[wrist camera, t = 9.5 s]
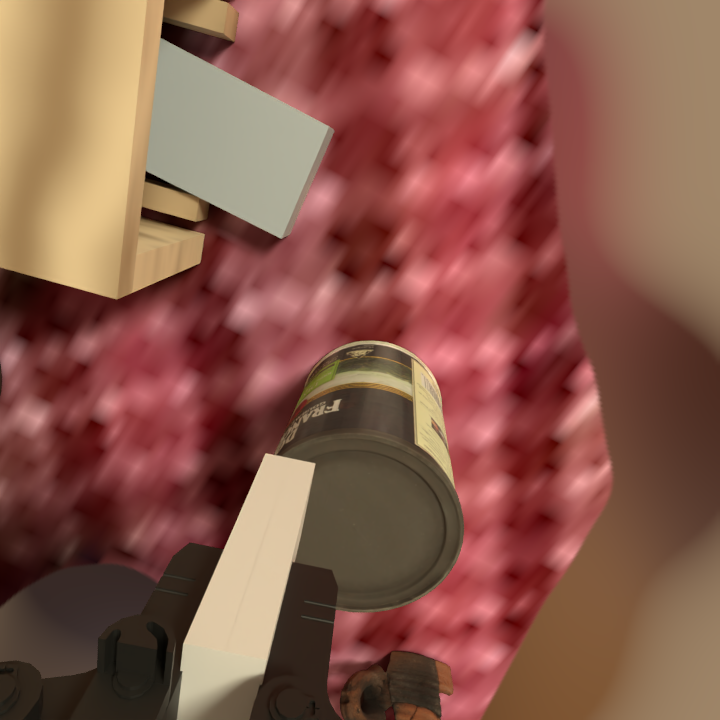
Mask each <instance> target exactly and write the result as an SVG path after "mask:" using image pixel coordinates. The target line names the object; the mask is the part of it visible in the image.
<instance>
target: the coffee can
mask: <svg viewBox="0 0 720 720" xmlns="http://www.w3.org/2000/svg"><path fill="white" fill-rule="evenodd" d="M274 455H277V456H282V457H287V458H292V459H296V460H301V461H306V462H311V463H315V468H314V473H313V478H312V483H311V488H310V493H309V498H308V503H307V508H306V513H305V518H304V523H303V528H302V533H301V538H300V542H299V546H298V550H297V555H296V559H295V562H296V563H301V564H306V565H311V566H316V567H320V568H325V569H330V570H332V571H333V574H334V577H335V580H336V582H337V585H338V594H337V602H336V610H341V611H348V612H378V611H385V610H390V609H394V608H398V607H401V606H404V605H407V604H409V603H412V602H414V601H416V600H418V599H420V598H421V597H423V596H425V595H426V594H428V593H429V592H431V591H432V590H433V589H435V588H436V587H437V586H438V585H439V584H440V583H441V582H442V581H443V580H444V579H445V578H446V576H447V575H448V574H449V573H450V571H451V570H452V568H453V566H454V565H455V563H456V561H457V559H458V556H459V554H460V551H461V547H462V543H463V536H464V521H463V514H462V509H461V505H460V502H459V498H458V495H457V493H456V491H455V485H454V479H453V473H452V467H451V461H450V456H449V450H448V444H447V438H446V432H445V425H444V419H443V413H442V398H441V394H440V390H439V387H438V384H437V382H436V380H435V378H434V376H433V374H432V373H431V371H430V370H429V368H428V367H427V366H426V365H425V364H424V363H423V362H422V361H421V360H420V359H419V358H418V357H417V356H416V355H414V354H413V353H411V352H409V351H407V350H406V349H404V348H402V347H400V346H397V345H394V344H391V343H387V342H381V341H358V342H353V343H349V344H346V345H343V346H341V347H339V348H337V349H335V350H333V351H331V352H330V353H329V354H327V355H326V356H325V357H323V358H322V359H321V360H320V361H319V362H318V363H317V364H316V365H315V366H314V368H313V369H312V371H311V373H310V374H309V376H308V378H307V381H306V383H305V386H304V390H303V392H302V394H301V396H300V399H299V401H298V403H297V406H296V408H295V410H294V412H293V414H292V416H291V418H290V421H289V423H288V425H287V427H286V429H285V432H284V434H283V436H282V438H281V440H280V442H279V445H278V447H277V449H276V451H275V453H274Z"/></svg>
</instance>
